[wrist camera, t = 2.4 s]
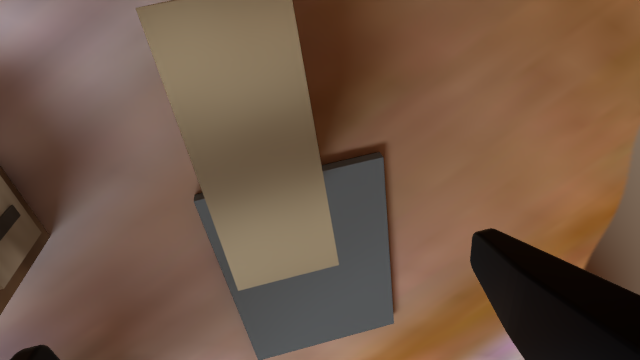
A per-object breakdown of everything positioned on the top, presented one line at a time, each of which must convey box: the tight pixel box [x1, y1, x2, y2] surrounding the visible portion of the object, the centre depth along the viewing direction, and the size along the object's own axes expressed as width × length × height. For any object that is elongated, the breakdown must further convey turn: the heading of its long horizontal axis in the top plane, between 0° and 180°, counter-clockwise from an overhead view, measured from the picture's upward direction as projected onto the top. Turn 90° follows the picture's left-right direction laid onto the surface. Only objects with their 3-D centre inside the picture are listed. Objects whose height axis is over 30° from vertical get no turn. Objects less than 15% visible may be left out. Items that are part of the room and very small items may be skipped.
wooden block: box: [136, 0, 339, 291], centre depth 15 cm, size 10×4×6 cm, turn 8°
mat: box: [194, 152, 394, 360], centre depth 23 cm, size 14×10×1 cm
